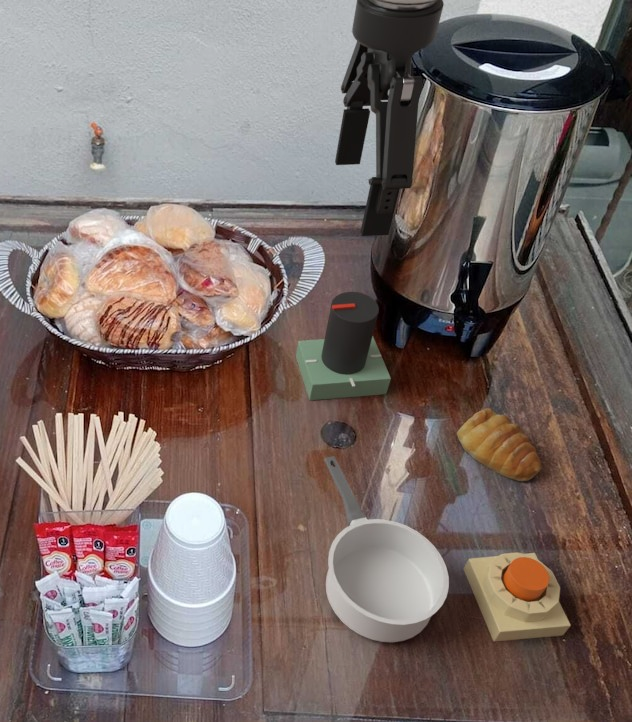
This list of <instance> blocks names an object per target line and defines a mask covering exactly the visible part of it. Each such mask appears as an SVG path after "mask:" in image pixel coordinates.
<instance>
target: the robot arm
mask: <svg viewBox="0 0 632 722" xmlns="http://www.w3.org/2000/svg"><path fill="white" fill-rule="evenodd" d="M444 3H445V2H444V0H356V3H355V4H356V5H355V11H354V17H353V22H352V29H351V33H352V36H353V38H354V39H355V41H356V43H355V46H354V49H353V52H352V54H351V58H350V60H349V63H348V66H347V68H346V72H345V74H344V76H343V80H342V83H341V86H340V92H341V94H342V95H343V94H345V95H344V97H343V100H342V103H343V106H344V107H345V109H343V113H342V119H341V125H340V129H339V137H338V142H337V148H336V153H335V159H334V162H335V166H349V165H351V166H352V165H361V160H362V157H363V151H364V144H365V140H366V136H367V131H368V125H369V121H370V120H369V119H370V115H371V112H372V113H373V114H375V169H376V170H375V176H371V177H370V178H369V179H368V181H367V182H368V185H369V191H368V195H367V199H366V204H365V208H364V213H363V217H362V223H361V227H360V234H361V236H362V237H370V236H371V237H373V236H375V237H376V236H389V235H390V230H391V227H392V224H393V223H392V222H393V218H394V214H395V210H396V206H397V201H398V197H399V195H400V190H403V189H411V188H412V186H413V176H414V163H415V152H416V151H415V150H416V140H417V139H416V138H417V128H418V127H417V126H418V114H419V104H420V98H421V92H422V88H423V84H424V81H423V77H422V76H417V75H416V76H414V63H413V56H414V55H415V54H416V53H417V52H419V51H421V50H423V49H426V48H428V47H429V46H430V45H431V44H432V43H434V41H435V40H436V37H437V33H438V30H439V25H440V22H441V17H442V13H443V9H444ZM364 107H365V108H364ZM366 107H367V108H366ZM368 107H370V108H368Z"/></svg>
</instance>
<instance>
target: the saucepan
mask: <svg viewBox="0 0 632 722" xmlns="http://www.w3.org/2000/svg"><path fill="white" fill-rule="evenodd" d="M323 462H324V463H325V465H326V468H327V470H328V472H329V474H330V476H331V478H332V480H333V482H334V484H335V487H336V489H337V491H338V493H339V495H340V498H341V499H342V503H343V508H344V513H345V514H344V515H345V522H346V524H347V526H346V527H345V528H343V529H342V530H341V531H340V532H339V533H338V534H336V536H335V538H334V539H333V541H332V543H331V545H330V548H329V550H328V558H327V565H328V569H327V573H326V577H325V590H326V597H327V600H328V603H329V605H330V607H331V608H332V610H333V612H334V613H335V615H336V616H337V617H338V619H339V620H340V621H341V622H342V623H343V624H344V625H345V626H346V627H348V628H349V629H350V630H352V632H355V633H357V634H358V635H360V636H362V637H364V638H366V639H369V640H372V641H377V642H381V643H398V642H403V641H407V640H410V639H413V638H414V637H415V636H417V635H418V634H420V633H421V632H422V631H423V630H424V629H425V628H426V627H427V626H428V624H429V622H430V620H431V618H432V616H433V615H435V614H436V613H437V612H438V611H439V610H440V609H441V608H442V606H443V605H444V603H445V601H446V599H447V597H448V592H449V588H450V586H449V585H450V577H449V576H450V575H449V572H448V568H447V565H446V562H445V561H444V559H443V556H442V554H441V553H440V552H439V550H438V549H437V548H436V546H435V545H434V544H433V543H432V542H431V541H430V540H429V539H428V538H427V537H425V535H423V534H422V533H420V532H419V531H417V530H416V529H414V528H412V527H410V526H408V525H406V524H403V523H400V522H397V521H395V520H388V519H382V518H381V519H380V518H370V519H368V516H367V514H366V513H365V512H364V511H363V510H362V507H361V505H360V503H359V501H358V499H357V497H356V496H355V494H354V492H353V490H352V488H351V486H350V484H349V482H348V481H347V478H346V476H345V474H344V471H342V469H341V466H340V465H339V463H338V460H337V459H336V457H335V455H331V456H327V457H325V458H324V459H323Z"/></svg>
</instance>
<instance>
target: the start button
mask: <svg viewBox="0 0 632 722" xmlns="http://www.w3.org/2000/svg"><path fill="white" fill-rule="evenodd" d="M504 584H505V586H506V588H507V589H508V591H509V592H510V593H511V594H513V595H514V596H515V597H517V598H519V599H522V600H528V601H529V600H535V599H537V598H539V597H540V596H541V594H542V593H543V591H544V590H545V589H546V587H547V586H548V584H549V574H548V572H547V570H546V569H545V567H544V566H543V565H542V564H541V563H539V562H538V561H536V560H534V559H531V558H527V557H520V558H516V559H515V560H513V561H512V562H511V564H510V566H509V567H508V569H507V571H506V572H505V574H504Z"/></svg>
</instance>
